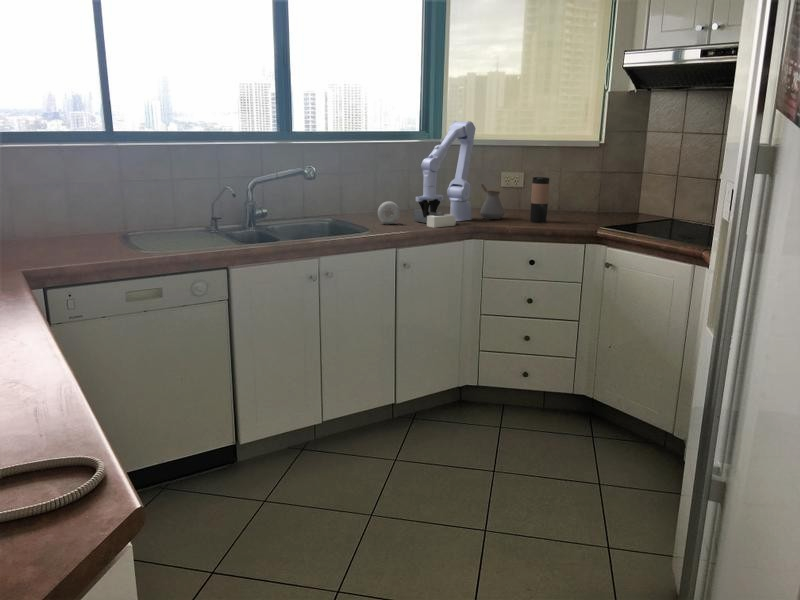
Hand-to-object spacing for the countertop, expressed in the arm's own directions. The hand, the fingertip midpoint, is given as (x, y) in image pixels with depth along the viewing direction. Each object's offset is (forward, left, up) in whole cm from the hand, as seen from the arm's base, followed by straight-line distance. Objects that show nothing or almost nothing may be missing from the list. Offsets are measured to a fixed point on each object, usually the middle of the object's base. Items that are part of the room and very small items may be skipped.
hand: (429, 217), depth 295 cm
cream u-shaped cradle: (0, +7, -3) cm, 8 cm away
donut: (+16, -9, -3) cm, 18 cm away
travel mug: (-46, +23, -3) cm, 52 cm away
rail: (0, 0, -2) cm, 2 cm away
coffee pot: (-38, -1, -3) cm, 38 cm away
